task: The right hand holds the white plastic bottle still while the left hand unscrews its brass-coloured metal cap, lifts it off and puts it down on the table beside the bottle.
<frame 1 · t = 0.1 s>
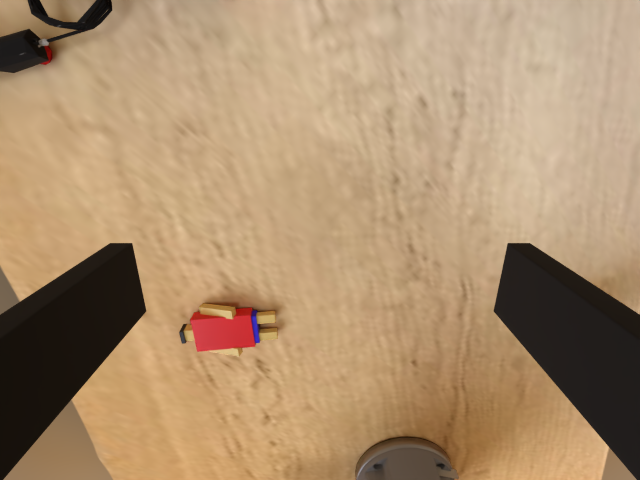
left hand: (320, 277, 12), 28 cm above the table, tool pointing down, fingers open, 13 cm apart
toy figure: (232, 323, 46), on the table
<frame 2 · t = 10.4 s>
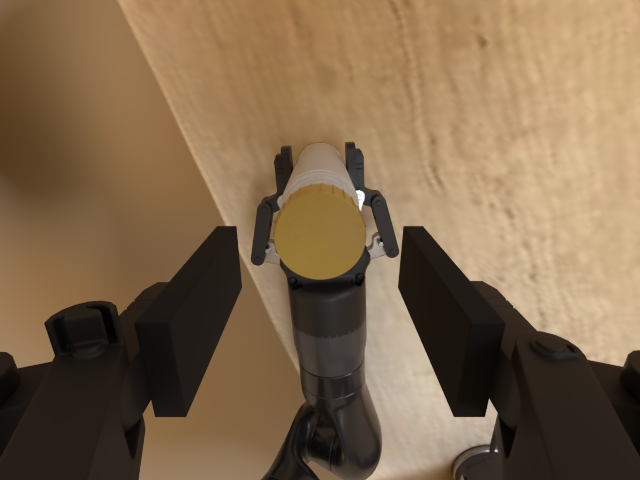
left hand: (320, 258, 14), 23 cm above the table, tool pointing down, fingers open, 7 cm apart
right hand: (317, 145, 29), fingers closed on bottle, 4 cm apart
bottle: (319, 166, 36), on the table, touching right hand
cap: (320, 236, 16), point 21 cm above the table, screwed on, not yet turned
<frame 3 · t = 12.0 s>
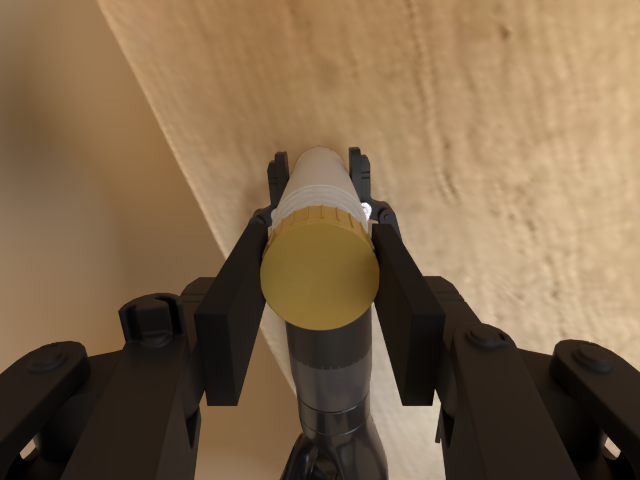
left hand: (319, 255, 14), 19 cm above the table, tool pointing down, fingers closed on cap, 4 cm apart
bottle: (319, 173, 32), on the table, touching right hand
cap: (319, 276, 13), point 21 cm above the table, screwed on, not yet turned, touching left hand
when the left hand's fingers open (1 cm above the table, at t = 29.8 s): cap drops 1 cm, point 2 cm above the table.
when the right hand's fingers open (6 cm above the table, at t = 31.1 s): bottle stays where it is, on the table.
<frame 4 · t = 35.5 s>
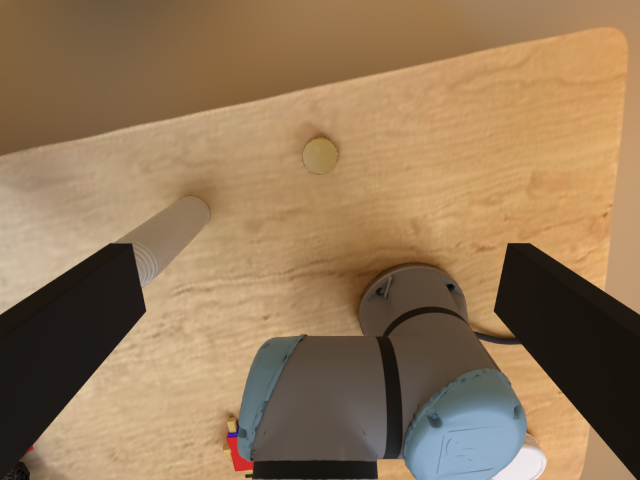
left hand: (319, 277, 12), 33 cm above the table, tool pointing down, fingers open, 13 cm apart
bottle: (192, 213, 46), on the table
cap: (320, 156, 42), point 2 cm above the table, off its thread
toy figure: (246, 439, 61), on the table
white round container: (506, 447, 62), on the table
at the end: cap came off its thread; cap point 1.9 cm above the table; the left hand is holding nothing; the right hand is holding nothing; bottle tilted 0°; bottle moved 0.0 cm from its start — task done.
